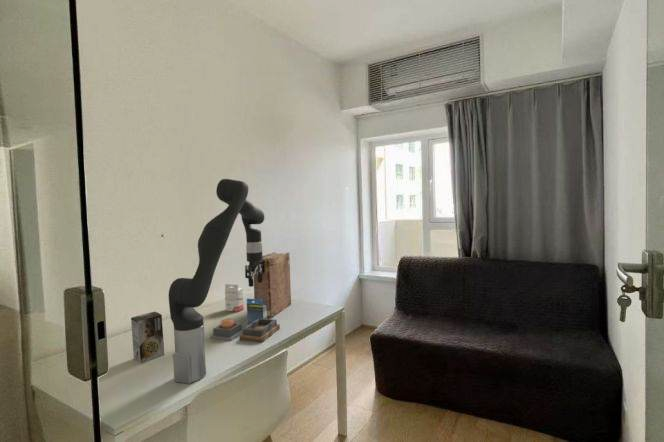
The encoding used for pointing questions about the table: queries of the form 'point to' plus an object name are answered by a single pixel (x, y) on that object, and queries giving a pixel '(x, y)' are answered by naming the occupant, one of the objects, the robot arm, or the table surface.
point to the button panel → (227, 332)
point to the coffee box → (147, 336)
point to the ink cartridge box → (233, 298)
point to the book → (274, 283)
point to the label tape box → (255, 310)
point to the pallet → (260, 330)
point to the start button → (227, 323)
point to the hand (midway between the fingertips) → (255, 284)
